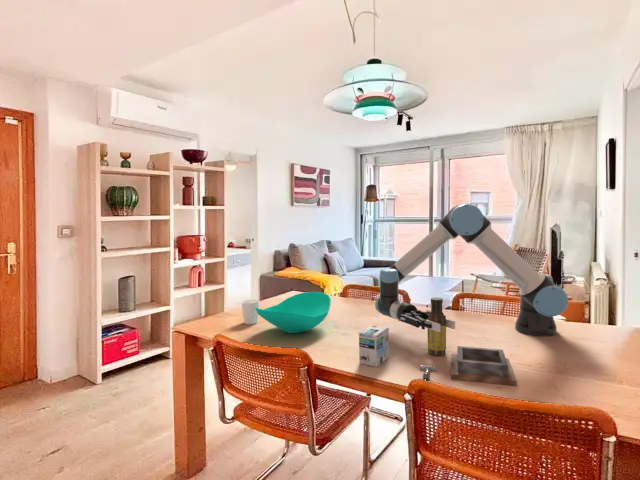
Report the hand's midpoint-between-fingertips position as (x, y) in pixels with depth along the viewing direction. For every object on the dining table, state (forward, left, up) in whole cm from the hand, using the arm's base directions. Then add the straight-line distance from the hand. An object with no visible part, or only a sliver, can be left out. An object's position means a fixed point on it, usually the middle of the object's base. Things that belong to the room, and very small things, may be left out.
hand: (447, 326), depth 138 cm
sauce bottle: (+4, -4, -11) cm, 12 cm away
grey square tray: (-10, +8, -11) cm, 17 cm away
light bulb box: (+24, +8, -11) cm, 27 cm away
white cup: (+88, -24, -11) cm, 91 cm away
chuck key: (+6, +15, -11) cm, 20 cm away
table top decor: (+63, -17, -11) cm, 66 cm away
